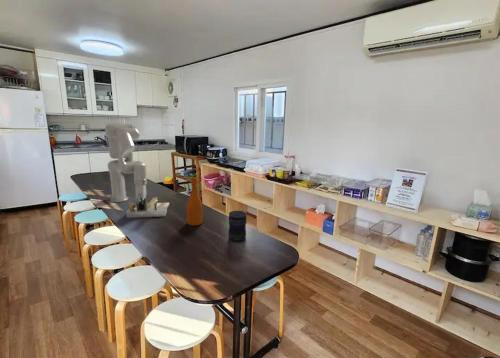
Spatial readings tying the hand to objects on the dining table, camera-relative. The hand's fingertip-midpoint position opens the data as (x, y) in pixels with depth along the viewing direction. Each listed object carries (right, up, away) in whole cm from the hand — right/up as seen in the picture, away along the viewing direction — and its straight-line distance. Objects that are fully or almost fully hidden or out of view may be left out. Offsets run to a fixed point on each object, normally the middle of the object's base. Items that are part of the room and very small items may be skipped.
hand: (142, 207), depth 168 cm
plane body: (+3, -5, +2) cm, 6 cm away
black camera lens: (+65, -14, -28) cm, 73 cm away
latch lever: (+9, +3, -6) cm, 11 cm away
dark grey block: (0, -1, 0) cm, 1 cm away
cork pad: (+6, -1, +18) cm, 19 cm away
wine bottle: (+37, -9, -10) cm, 40 cm away
